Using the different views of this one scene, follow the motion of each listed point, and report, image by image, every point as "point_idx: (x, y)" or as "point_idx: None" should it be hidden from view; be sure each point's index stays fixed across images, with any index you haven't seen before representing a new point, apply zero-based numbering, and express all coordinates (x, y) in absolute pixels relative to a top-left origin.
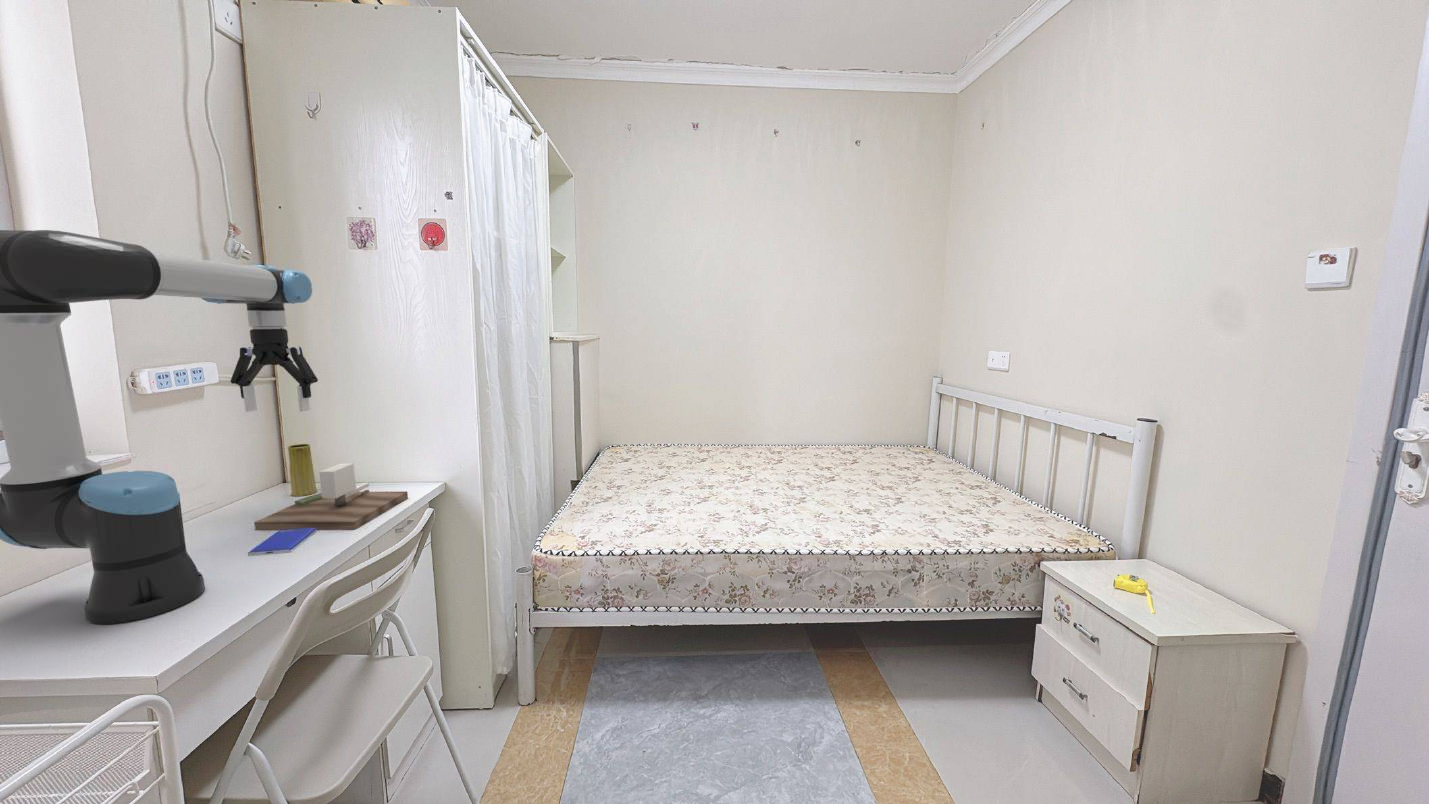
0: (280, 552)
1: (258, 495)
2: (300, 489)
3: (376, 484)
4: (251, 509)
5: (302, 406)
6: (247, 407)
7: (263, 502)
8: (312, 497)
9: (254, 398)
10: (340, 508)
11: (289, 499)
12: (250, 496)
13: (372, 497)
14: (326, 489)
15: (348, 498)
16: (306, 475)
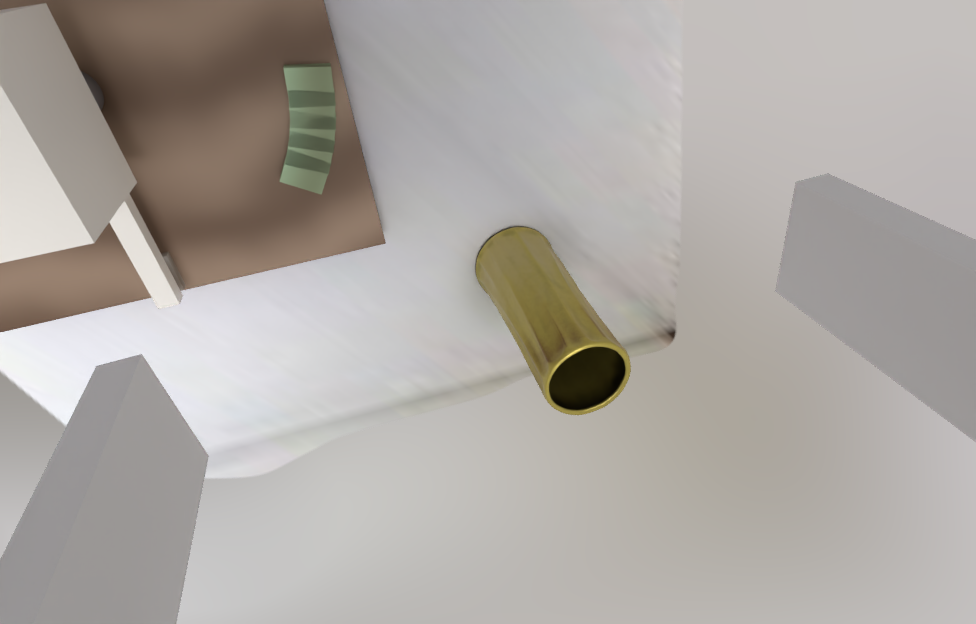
0: None
1: (657, 206)
2: (504, 247)
3: (336, 400)
4: (555, 57)
5: (74, 420)
6: (845, 201)
7: (577, 143)
8: (300, 133)
9: (890, 360)
10: None
11: (508, 194)
12: (676, 191)
13: None
14: None
15: (165, 193)
16: (504, 292)
